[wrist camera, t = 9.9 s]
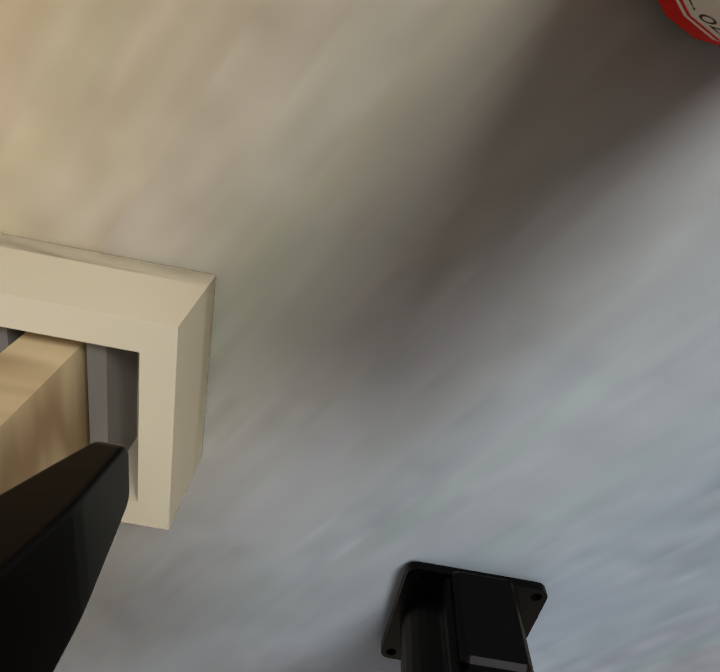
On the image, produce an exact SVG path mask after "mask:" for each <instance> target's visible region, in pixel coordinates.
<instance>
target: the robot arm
mask: <svg viewBox="0 0 720 672" xmlns="http://www.w3.org/2000/svg"><path fill="white" fill-rule="evenodd" d="M128 499H129V455H128V451H127V448H126V447H125V446H123V445H120V444H114V443H108V442H102V441H96V442H92V443H90V444H88V445H86V446H85V447H83V448H81V449H79V450H78V451H76V452H74V453H72V454H71V455H69V456H67V457H65V458H63V459H62V460H60V461H58V462H56V463H55V464H53V465H51V466H49V467H48V468H46V469H44V470H42V471H41V472H39V473H37V474H35V475H33V476H32V477H30V478H28V479H26V480H25V481H23V482H21V483H19V484H18V485H16V486H14V487H12V488H11V489H9V490H7V491H5V492H3V493H2V494H0V672H53V671H54V669H55V667H56V665H57V664H58V662H59V660H60V658H61V656H62V654H63V652H64V650H65V649H66V647H67V645H68V643H69V641H70V639H71V637H72V635H73V633H74V631H75V629H76V627H77V625H78V623H79V621H80V619H81V617H82V615H83V613H84V610H85V608H86V606H87V603H88V601H89V599H90V596H91V594H92V591H93V589H94V586H95V584H96V581H97V579H98V576H99V574H100V571H101V569H102V567H103V564H104V562H105V559H106V557H107V554H108V552H109V549H110V547H111V544H112V542H113V539H114V537H115V534H116V532H117V529H118V527H119V524H120V522H121V520H122V517H123V515H124V512H125V509H126V507H127V503H128ZM546 600H547V593H546V589H545V586H544V585H543V584H541V583H538V582H533V581H527V580H521V579H515V578H510V577H504V576H498V575H492V574H487V573H481V572H475V571H469V570H464V569H458V568H452V567H446V566H440V565H435V564H429V563H423V562H412V563H410V564H409V565H408V566H407V567H406V570H405V573H404V576H403V579H402V582H401V585H400V588H399V591H398V594H397V597H396V600H395V603H394V606H393V609H392V612H391V615H390V618H389V621H388V624H387V627H386V630H385V633H384V636H383V639H382V642H381V653H382V655H383V656H385V657H387V658H392V659H398V660H401V672H534V671H533V666H532V662H531V658H530V653H529V649H528V644H527V640H526V638H527V636H528V634H529V632H530V631H531V629H532V627H533V625H534V623H535V621H536V619H537V617H538V615H539V613H540V611H541V609H542V607H543V606H544V604H545V602H546Z"/></svg>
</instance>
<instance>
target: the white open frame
mask: <svg viewBox="0 0 720 672" xmlns="http://www.w3.org/2000/svg"><path fill="white" fill-rule="evenodd" d="M215 279H216V275H211V274H206V273H201V272H196V271H191V270H185V269H180V268H175V267H170V266H165V265H160V264H155V263H149V262H144V261H139V260H134V259H129V258H124V257H119V256H113V255H108V254H103V253H98V252H93V251H88V250H83V249H77V248H72V247H67V246H62V245H57V244H52V243H47V242H42V241H36V240H31V239H26V238H21V237H16V236H11V235H6V234H0V353H1V352H2V351H3V350H5V349H6V348H7V347H8V346H9V345H11V344H12V343H13V342H14V341H16V340H17V339H18V338H19V337H21V336H22V335H23V334H24V333H25V332H33V333H38V334H43V335H49V336H54V337H59V338H65V339H70V340H75V341H81V342H86V346H87V372H88V399H89V425H90V441H89V443H88V444H90V443H92V442H96V441H102V442H108V443H114V444H120V445H123V446H125V447H126V448H127V451H128V455H129V499H128V503H127V507H126V509H125V512H124V515H123V517H122V520H121V522H125V523H131V524H137V525H142V526H148V527H154V528H160V529H166V530H169V528H170V526H171V523H172V521H173V519H174V517H175V514H176V512H177V510H178V508H179V505H180V503H181V501H182V499H183V497H184V494H185V492H186V490H187V488H188V485H189V483H190V481H191V479H192V477H193V474H194V472H195V470H196V468H197V465H198V463H199V461H200V459H201V456H202V444H203V431H204V419H205V406H206V393H207V380H208V368H209V355H210V342H211V330H212V317H213V304H214V292H215ZM88 444H87V445H88Z"/></svg>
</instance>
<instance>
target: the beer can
mask: <svg viewBox="0 0 720 672" xmlns="http://www.w3.org/2000/svg"><path fill="white" fill-rule="evenodd" d="M658 2H659V4H660V6H661V8H662V9H663V11H664V13H665V15H666V16H667V17H668V18H670V19H671V20H672V21H673V22H675V23H676V24H677V25H678V26H679V27H681V28H682V29H683V30H684V31H686V32H687V33H688V34H689V35H690V36H692V37H693V38H695V39H699V40H702V41H706V42H709V43H713V44H716V45H720V0H658Z"/></svg>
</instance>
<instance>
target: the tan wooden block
mask: <svg viewBox="0 0 720 672" xmlns="http://www.w3.org/2000/svg"><path fill="white" fill-rule="evenodd" d="M89 441H90V425H89V399H88V372H87V346H86V342H81V341H75V340H70V339H65V338H59V337H54V336H49V335H43V334H38V333H33V332H25V333H24V334H23V335H22V336H21V337H19V338H18V339H17V340H16V341H14V342H13V343H12V344H11V345H9V346H8V347H7V348H6V349H5V350H3V351H2V352H1V353H0V494H2V493H3V492H5V491H7V490H9V489H11V488H12V487H14V486H16V485H18V484H19V483H21V482H23V481H25V480H26V479H28V478H30V477H32V476H33V475H35V474H37V473H39V472H41V471H42V470H44V469H46V468H48V467H49V466H51V465H53V464H55V463H56V462H58V461H60V460H62V459H63V458H65V457H67V456H69V455H71V454H72V453H74V452H76V451H78V450H79V449H81V448H83V447H85V446H86V445H87V444H88V443H89Z"/></svg>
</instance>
